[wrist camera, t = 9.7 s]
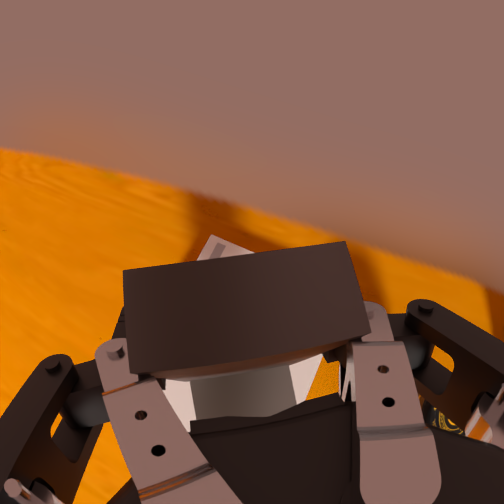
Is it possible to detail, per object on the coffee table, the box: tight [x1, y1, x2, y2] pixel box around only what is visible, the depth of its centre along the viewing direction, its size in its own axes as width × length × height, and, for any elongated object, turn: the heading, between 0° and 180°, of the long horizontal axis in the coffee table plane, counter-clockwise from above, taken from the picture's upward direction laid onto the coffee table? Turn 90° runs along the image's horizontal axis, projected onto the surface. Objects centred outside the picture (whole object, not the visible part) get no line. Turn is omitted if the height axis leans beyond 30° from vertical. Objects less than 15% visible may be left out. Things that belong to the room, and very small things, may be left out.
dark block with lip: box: [123, 241, 372, 420], centre depth 11 cm, size 6×5×10 cm
